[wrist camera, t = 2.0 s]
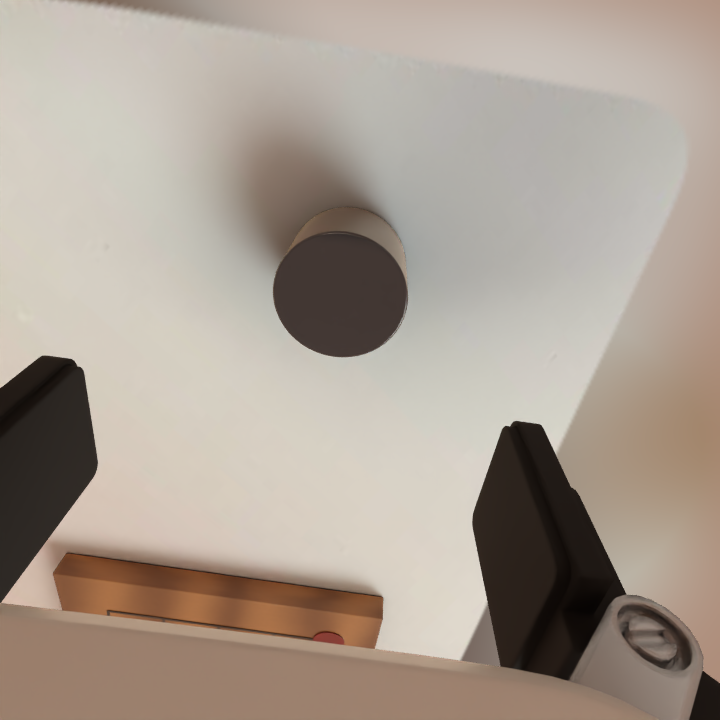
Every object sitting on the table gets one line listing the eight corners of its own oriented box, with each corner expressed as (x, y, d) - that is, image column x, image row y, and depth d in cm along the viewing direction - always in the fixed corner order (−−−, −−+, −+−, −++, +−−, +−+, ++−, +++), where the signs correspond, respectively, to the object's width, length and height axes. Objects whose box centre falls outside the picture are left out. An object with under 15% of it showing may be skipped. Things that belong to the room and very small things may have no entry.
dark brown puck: (381, 187, 19) (378, 209, 16) (421, 296, 21) (426, 334, 18) (270, 232, 20) (248, 261, 17) (319, 331, 22) (307, 373, 19)
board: (383, 596, 31) (382, 620, 30) (344, 745, 41) (343, 768, 40) (66, 552, 31) (51, 574, 30) (104, 713, 41) (94, 735, 40)
